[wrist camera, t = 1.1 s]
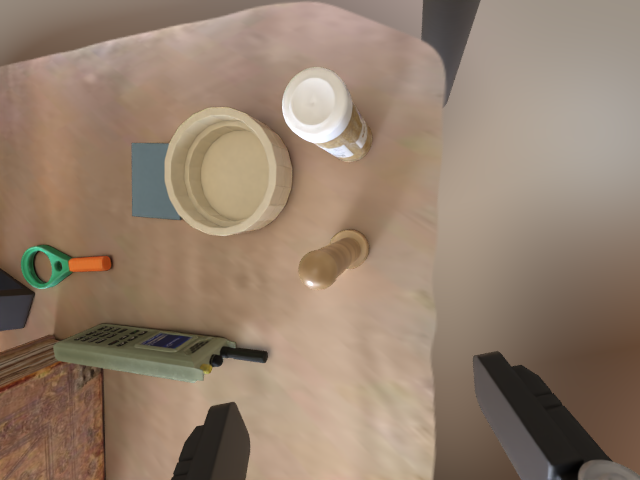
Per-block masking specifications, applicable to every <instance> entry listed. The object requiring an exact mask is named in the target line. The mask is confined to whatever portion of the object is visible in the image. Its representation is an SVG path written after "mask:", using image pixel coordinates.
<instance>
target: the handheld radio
mask: <svg viewBox="0 0 640 480" xmlns="http://www.w3.org/2000/svg"><path fill="white" fill-rule="evenodd" d="M53 349H54V355H55V358H56V359H57V360H58V361H62V362H68V363H74V364H80V365H86V366H93V367H99V368H105V369H111V370H117V371H123V372H129V373H135V374H142V375H148V376H154V377H160V378H166V379H172V380H178V381H185V382H191V383H194V382H196V381H197V380H200V381H203V380H204V374H209V373H210V372H211V371H212V367H219V366H221V365H222V363H223V358H234V359H239V360H246V361H253V362H260V363H266V361H267V358H268V353H267V351H259V350H251V349H243V348H236V342H232V341H228V340H227V339H225V338H220V337H212V336H204V335H196V334H187V333H179V332H171V331H163V330H155V329H146V328H137V327H129V326H120V325H111V324H103V323H102V324H100V325H97V326H95V327H93V328H90V329H88V330H86V331H83V332H81V333H78V334H76V335H74V336H71V337H69V338H66V339H64V340H62V341H59V342H57V343H56V344H55V345H54V346H53Z"/></svg>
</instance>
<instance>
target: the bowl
mask: <svg viewBox="0 0 640 480" xmlns="http://www.w3.org/2000/svg"><path fill="white" fill-rule="evenodd" d="M165 184H166V188H167V192H168V196H169V199H170V201H171V203H172V204H173V206H174V208H175V209H176V211H177V213H178V214H179V216H181V217H182V218H183V219H184V220H185V221H186V222H187V223H188V224H189V225H190V226H191V227H193V228H195V229H197V230H199V231H201V232H204V233H206V234H208V235H218V236H229V235H235V234H241V233H247V232H251V231H255V230H258V229H261V228H263V227H264V226H266V225H267V224H269V223H270V222H272V221H273V220H275V218H276V217H277V216H278V215H279V213H280V212H281V211H282V209H283V208H284V207H285V205H286V202H287V199H288V196H289V194H290V191H291V188H292V165H291V161H290V157H289V153H288V150H287V148H286V147H285V145H284V143H283V142H282V140H281V139H280V137H279V135H278V134H277V133H275V132H274V131H273V130H272V129H271V128H269V127H268V126H267V125H266V124H264V123H262V122H261V121H259V120H257V119H255V118H253V117H251V116H250V115H248V114H246V113H244V112H241V111H238V110H235V109H233V108H230V107H209V108H207V109H204V110H202V111H199V112H197V113H194V114H193V115H192V116H190V117H189V118H188V119H187V120H186V121H185V122H184V123H182V124H181V125H180V126H179V128H178V129H177V131H176V133H175V134H174V136H173V137H172V139H171V141H170V143H169V146H168V150H167V153H166V157H165Z"/></svg>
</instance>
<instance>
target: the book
mask: <svg viewBox="0 0 640 480" xmlns="http://www.w3.org/2000/svg"><path fill="white" fill-rule="evenodd" d="M57 342H59V341H58V340H55V336H53V335H48V336H45V337H42V338H39V339H36V340H34V341H31V342H28V343H25V344H22V345H19V346H17V347H14V348H11V349H8V350H5V351H3V352H0V480H105V442H104V395H103V368H99V367H93V366H86V365H80V364H74V363H68V362H62V361H58V360H57V359H56V358H55V355H54V349H53V346H54V345H55V344H56V343H57Z"/></svg>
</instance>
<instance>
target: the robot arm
mask: <svg viewBox="0 0 640 480" xmlns="http://www.w3.org/2000/svg"><path fill="white" fill-rule="evenodd" d="M473 368H474V383H475V393H476V397H477V400H478V403H479V406H480V408H481V410H482V412H483V414H484V415H485V417H486V419H487V421H488V423H489V424H490V426H491V428H492V430H493V431H494V433H495V435H496V437H497V438H498V440H499V442H500V443H501V445H502V447H503V449H504V451H505V452H506V454H507V456H508V458H509V459H510V461H511V463H512V465H513V466H514V468H515V470H516V472H517V473H518V475H519V476H520V479H521V480H640V476H639V475H638V474H637V473H635V472H634V471H632V470H630V469H628V468H627V467H625V466H623V465H620V464H618V463H615V462H613V461H612V460H611V459H610V458H609V457H608V456H607V455H606V454H605V453H604V452H603V450H602V449H601V448H600V447H599V446H598V445H597V443H596V442H595V441H594V440H593V439H592V438H591V437H590V435H589V434H588V433H587V432H586V431H585V430H584V429H583V427H582V426H581V425H580V424H579V422H578V421H577V420H576V419H575V418H574V417H573V416H572V414H571V413H570V412H569V411H568V410H567V409H566V408H565V406H563V405H562V403H561V402H560V400H559V399H558V398H557V397H556V396H555V395H554V393H553V394H552V392H551V390H550V389H549V388H548V386H547V385H546V384H545V383H544V382H543V381H542V379H541V378H540V377H539V376H538V375H536V374H535V373H533V372H531V371H530V370H528V369H527V368H525V367H524V366H522V365H518V366H513V367H511V366H510V364H509V363H508V362H507V361H506V359H505V358H504V357H503V355H502V354H501V353H500V352H498V351H496V352H491V353H485V354H480V355H475V356H474V357H473ZM249 455H250V438H249V434H248V431H247V429H246V426H245V424H244V421H243V419H242V417H241V414H240V412H239V410H238V407H237V405H236V403H235V402H230V403H225V404H220V405H215V406H211V407H210V409H209V411H208V414H207V417H206V420H205V423H204V425H201V426H196V428H195V429H194V430H193V432H192V433H191V435H190V436H189V437H188V439H187V440H186V442H185V444H184V446H183V449H182V452H181V454H180V457H179V463H177V465H176V468H175V471H174V473H173V474H174V476H173V477H172V479H171V480H245V478H246V473H247V467H248V461H249Z"/></svg>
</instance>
